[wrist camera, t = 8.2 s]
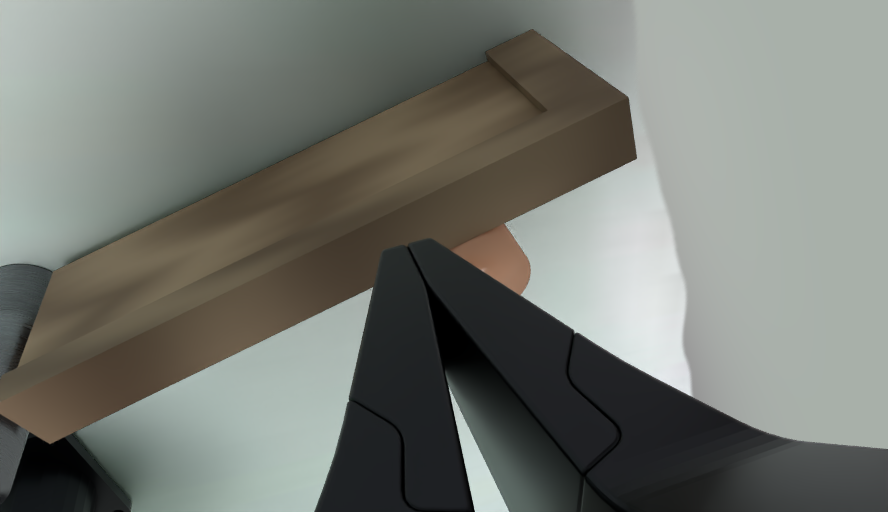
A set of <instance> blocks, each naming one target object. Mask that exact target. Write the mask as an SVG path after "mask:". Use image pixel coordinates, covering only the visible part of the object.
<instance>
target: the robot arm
mask: <svg viewBox="0 0 888 512" xmlns="http://www.w3.org/2000/svg"><path fill="white" fill-rule="evenodd" d="M448 385H449V387H450V389H451V392H452V394H453V396H454V398H455V400H456V402H457V404H458V406H459V408H460V410H461V412H462V414H463V416H464V418H465V421H466V423H467V425H468V427H469V429H470V431H471V433H472V435H473V437H474V439H475V441H476V443H477V445H478V448H479V450H480V452H481V454H482V456H483V458H484V460H485V462H486V464H487V466H488V468H489V470H490V472H491V475H492V477H493V479H494V481H495V483H496V485H497V487H498V489H499V491H500V493H501V495H502V497H503V499H504V501H505V504H506V506H507V508H508V510H509V512H888V449H880V448H870V447H859V446H847V445H837V444H825V443H815V442H804V441H797V440H792V439H787V438H783V437H779V436H776V435H773V434H769V433H766V432H764V431H761V430H759V429H756V428H753V427H751V426H749V425H747V424H745V423H742V422H740V421H738V420H736V419H734V418H732V417H730V416H728V415H726V414H724V413H723V412H720V411H719V410H717V409H715V408H713V407H711V406H709V405H707V404H705V403H703V402H701V401H699V400H697V399H695V398H693V397H691V396H689V395H687V394H685V393H683V392H681V391H679V390H677V389H675V388H674V387H672V386H670V385H668V384H666V383H664V382H662V381H660V380H658V379H656V378H654V377H652V376H650V375H649V374H647V373H645V372H643V371H641V370H639V369H637V368H636V367H634V366H632V365H630V364H628V363H626V362H624V361H623V360H621V359H620V358H618V357H616V356H615V355H613V354H611V353H610V352H608V351H606V350H605V349H603V348H601V347H600V346H598V345H596V344H595V343H593V342H592V341H590V340H589V339H587V338H586V337H584V336H583V335H581V334H579V333H575V332H574V330H573V329H571V328H570V327H568V326H567V325H565V324H564V323H562V322H561V321H559V320H557V319H556V318H554V317H553V316H551V315H550V314H548V313H547V312H545V311H544V310H542V309H540V308H539V307H537V306H536V305H534V304H533V303H531V302H530V301H528V300H527V299H525V298H523V297H522V296H520V295H519V294H517V293H516V292H514V291H513V290H511V289H510V288H508V287H506V286H505V285H503V284H502V283H500V282H499V281H497V280H496V279H494V278H493V277H491V276H489V275H488V274H486V273H485V272H483V271H482V270H480V269H479V268H477V267H476V266H474V265H472V264H471V263H469V262H468V261H466V260H465V259H463V258H462V257H460V256H459V255H457V254H455V253H454V252H452V251H451V250H449V249H448V248H446V247H445V246H443V245H442V244H440V243H438V242H437V241H435V240H434V239H432V238H426V239H422V240H418V241H415V242H411V243H409V244H408V246H407V247H406V246H405V245H399V246H395V247H391V248H388V249H384V250H383V251H382V252H381V255H380V260H379V264H378V269H377V273H376V278H375V282H374V287H373V291H372V296H371V300H370V305H369V309H368V314H367V318H366V323H365V327H364V332H363V336H362V341H361V345H360V350H359V354H358V359H357V363H356V368H355V372H354V377H353V381H352V386H351V390H350V395H349V402H348V403H347V407H346V411H345V416H344V420H343V425H342V429H341V432H340V436H339V440H338V444H337V447H336V451H335V455H334V458H333V461H332V464H331V467H330V470H329V473H328V475H327V478H326V481H325V484H324V487H323V490H322V493H321V495H320V498H319V501H318V503H317V506H316V509H315V511H314V512H475V510H474V506H473V501H472V496H471V491H470V487H469V482H468V477H467V473H466V468H465V463H464V458H463V454H462V449H461V444H460V439H459V435H458V430H457V425H456V420H455V416H454V411H453V406H452V402H451V397H450V392H449V387H448ZM131 506H132V503H131V501H130V500H129V499H128V497H127V496H126V495H125V494H124V493H123V492H122V491H121V489H120V488H119V487H118V486H117V485H116V484H115V483H114V482H113V480H112V479H111V478H110V477H109V476H108V475H107V474H106V472H105V471H104V470H103V469H102V468H101V467H100V466H99V465H98V463H97V462H96V461H95V460H94V459H93V458H92V457H91V455H90V454H89V453H88V452H87V451H86V450H85V449H84V447H83V446H82V445H81V444H80V443H79V442H78V441H77V440H76V438H75V437H74V436H73V435H72V434H69V435H67V436H65V437H63V438H61V439H59V440H57V441H55V442H53V443H51V444H49V443H47V442H46V441H44V440H42V439H41V438H39V437H37V436H36V435H34V434H32V433H31V432H29V434H28V437H27V440H26V443H25V447H24V450H23V453H22V456H21V459H20V462H19V466H18V469H17V472H16V475H15V478H14V481H13V485H12V488H11V491H10V493H9V496H8V497H7V498H6V500H5V501H4V502H2V503H1V504H0V512H131Z"/></svg>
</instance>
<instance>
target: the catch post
mask: <svg viewBox="0 0 888 512" xmlns="http://www.w3.org/2000/svg"><path fill="white" fill-rule="evenodd" d="M450 250H451V251H452V252H454V253H455V254H457V255H459V256H460V257H462V258H463V259H465V260H466V261H468V262H469V263H471V264H472V265H474V266H476V267H477V268H479V269H480V270H482V271H483V272H485V273H486V274H488V275H489V276H491V277H493V278H494V279H496V280H497V281H499V282H500V283H502V284H503V285H505V286H506V287H508V288H510V289H511V290H513V291H514V292H516V293H517V294H519V295H521V294H522V292H523V291H524V289H525V288H526V286H527V284H528V281H529V278H530V271H531V269H530V263H529V260H528V258H527V257H526V255H525V254H524V252H523V251H522V249H521V248H520V246H519V245H518V243H517V242H516V240H515V239H514V237H513V236H512V234H511V233H510V232H509V230H508V229H507V227H506V226H505V224H502V225H500V226H498V227H495V228H493V229H491V230H489V231H487V232H485V233H483V234H481V235H479V236H477V237H475V238H473V239H471V240H469V241H467V242H465V243H463V244H460V245H458V246H456V247H454V248H452V249H450Z"/></svg>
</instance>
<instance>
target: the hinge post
mask: <svg viewBox="0 0 888 512" xmlns="http://www.w3.org/2000/svg"><path fill="white" fill-rule="evenodd" d="M52 273H53V272H51V271H49V270H46V269H44V268H41V267H37V266H32V265H24V264H16V265H8V266H4V267H0V379H1V376H2V375H3V374H5V373H7V372H10V371H12V370H14V369H16V368H17V367H18V365H19V362H20V359H21V357H22V354H23V351H24V348H25V346H26V343H27V340H28V338H29V335H30V332H31V330H32V327H33V324H34V322H35V319H36V316H37V314H38V311H39V308H40V306H41V303H42V300H43V298H44V295H45V292H46V289H47V287H48V284H49V281H50V279H51V276H52ZM28 434H29V431H27V430H26V429H24V428H22V427H21V426H19V425H18V424H16V423H14V422H13V421H11V420H9V419H8V418H6V417H4V416H3V415H1V414H0V504H1V503H2V502H4V501H5V500H6V498H7V497H8V496H9V493H10V491H11V488H12V485H13V481H14V478H15V475H16V472H17V469H18V466H19V462H20V459H21V456H22V453H23V450H24V447H25V443H26V440H27V437H28Z"/></svg>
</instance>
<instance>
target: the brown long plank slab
mask: <svg viewBox="0 0 888 512" xmlns="http://www.w3.org/2000/svg"><path fill="white" fill-rule="evenodd" d="M485 53H486V57H487V60H488V61H487V62H484V63H482V64H480V65H478V66H476V67H474V68H472V69H470V70H468V71H466V72H464V73H462V74H460V75H458V76H456V77H454V78H451V79H449V80H447V81H445V82H443V83H441V84H439V85H437V86H435V87H433V88H431V89H429V90H427V91H425V92H423V93H421V94H418V95H416V96H414V97H412V98H410V99H408V100H406V101H404V102H402V103H400V104H398V105H396V106H394V107H392V108H390V109H387V110H385V111H383V112H381V113H379V114H377V115H375V116H373V117H371V118H369V119H367V120H365V121H363V122H361V123H359V124H357V125H354V126H352V127H350V128H348V129H346V130H344V131H342V132H340V133H338V134H336V135H334V136H332V137H330V138H328V139H326V140H324V141H321V142H319V143H317V144H315V145H313V146H311V147H309V148H307V149H305V150H303V151H301V152H299V153H297V154H295V155H293V156H290V157H288V158H286V159H284V160H282V161H280V162H278V163H276V164H274V165H272V166H270V167H268V168H266V169H264V170H262V171H260V172H257V173H255V174H253V175H251V176H249V177H247V178H245V179H243V180H241V181H239V182H237V183H235V184H233V185H231V186H229V187H227V188H224V189H222V190H220V191H218V192H216V193H214V194H212V195H210V196H208V197H206V198H204V199H202V200H200V201H198V202H196V203H193V204H191V205H189V206H187V207H185V208H183V209H181V210H179V211H177V212H175V213H173V214H171V215H169V216H167V217H165V218H163V219H160V220H158V221H156V222H154V223H152V224H150V225H148V226H146V227H144V228H142V229H140V230H138V231H136V232H134V233H132V234H129V235H127V236H125V237H123V238H121V239H119V240H117V241H115V242H113V243H111V244H109V245H107V246H105V247H103V248H101V249H99V250H96V251H94V252H92V253H90V254H88V255H86V256H84V257H82V258H80V259H78V260H76V261H74V262H72V263H70V264H68V265H66V266H63V267H61V268H59V269H57V270H55V271H53V273H52V276H51V279H50V281H49V284H48V287H47V289H46V292H45V295H44V298H43V300H42V303H41V306H40V308H39V311H38V314H37V316H36V319H35V322H34V324H33V327H32V330H31V332H30V335H29V338H28V340H27V343H26V346H25V348H24V351H23V354H22V357H21V359H20V362H19V365H18V367H17V368H16V369H14V370H12V371H10V372H7V373H5V374H3V375H2V376H1V379H0V414H1V415H3V416H4V417H6V418H8V419H9V420H11V421H13V422H14V423H16V424H18V425H19V426H21V427H22V428H24V429H26V430H27V431H29V432H31V433H32V434H34V435H36V436H37V437H39V438H41V439H42V440H44V441H46V442H47V443H49V444H51V443H53V442H55V441H57V440H59V439H61V438H63V437H65V436H67V435H69V434H72V433H74V432H76V431H78V430H80V429H82V428H84V427H86V426H88V425H90V424H92V423H94V422H96V421H98V420H100V419H102V418H104V417H107V416H109V415H111V414H113V413H115V412H117V411H119V410H121V409H123V408H125V407H127V406H129V405H131V404H133V403H135V402H137V401H139V400H142V399H144V398H146V397H148V396H150V395H152V394H154V393H156V392H158V391H160V390H162V389H164V388H166V387H168V386H170V385H172V384H174V383H176V382H179V381H181V380H183V379H185V378H187V377H189V376H191V375H193V374H195V373H197V372H199V371H201V370H203V369H205V368H207V367H209V366H211V365H214V364H216V363H218V362H220V361H222V360H224V359H226V358H228V357H230V356H232V355H234V354H236V353H238V352H240V351H242V350H244V349H246V348H249V347H251V346H253V345H255V344H257V343H259V342H261V341H263V340H265V339H267V338H269V337H271V336H273V335H275V334H277V333H279V332H281V331H284V330H286V329H288V328H290V327H292V326H294V325H296V324H298V323H300V322H302V321H304V320H306V319H308V318H310V317H312V316H314V315H316V314H318V313H321V312H323V311H325V310H327V309H329V308H331V307H333V306H335V305H337V304H339V303H341V302H343V301H345V300H347V299H349V298H351V297H353V296H356V295H358V294H360V293H362V292H364V291H366V290H368V289H370V288H372V287H374V282H375V278H376V273H377V269H378V264H379V260H380V255H381V252H382V251H383V250H384V249H388V248H391V247H395V246H399V245H405V246H406V247H407V246H408V244H409V243H411V242H415V241H418V240H422V239H426V238H432V239H434V240H435V241H437V242H438V243H440V244H442V245H443V246H445V247H446V248H448V249H449V250H450V249H452V248H454V247H456V246H458V245H460V244H463V243H465V242H467V241H469V240H471V239H473V238H475V237H477V236H479V235H481V234H483V233H485V232H487V231H489V230H491V229H493V228H495V227H498V226H500V225H502V224H504V223H506V222H508V221H510V220H512V219H514V218H516V217H518V216H520V215H522V214H524V213H526V212H528V211H530V210H533V209H535V208H537V207H539V206H541V205H543V204H545V203H547V202H549V201H551V200H553V199H555V198H557V197H559V196H561V195H563V194H565V193H568V192H570V191H572V190H574V189H576V188H578V187H580V186H582V185H584V184H586V183H588V182H590V181H592V180H594V179H596V178H598V177H600V176H602V175H605V174H607V173H609V172H611V171H613V170H615V169H617V168H619V167H621V166H623V165H625V164H627V163H629V162H631V161H633V160H635V159H637V155H636V148H635V141H634V134H633V127H632V120H631V112H630V105H629V98H628V97H627V96H626V95H625V94H623V93H622V92H620V91H619V90H618V89H616V88H615V87H613V86H612V85H611V84H609V83H608V82H606V81H605V80H604V79H602V78H601V77H599V76H598V75H596V74H595V73H594V72H592V71H591V70H589V69H588V68H587V67H585V66H584V65H582V64H581V63H580V62H578V61H577V60H575V59H574V58H573V57H571V56H570V55H568V54H567V53H565V52H564V51H563V50H561V49H560V48H558V47H557V46H556V45H554V44H553V43H551V42H550V41H549V40H547V39H546V38H544V37H543V36H541V35H540V34H539V33H537V32H536V31H534V30H533V29H531V30H529V31H527V32H525V33H523V34H521V35H519V36H517V37H515V38H513V39H511V40H509V41H507V42H505V43H503V44H500V45H498V46H496V47H494V48H492V49H490V50H488V51H486V52H485Z"/></svg>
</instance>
